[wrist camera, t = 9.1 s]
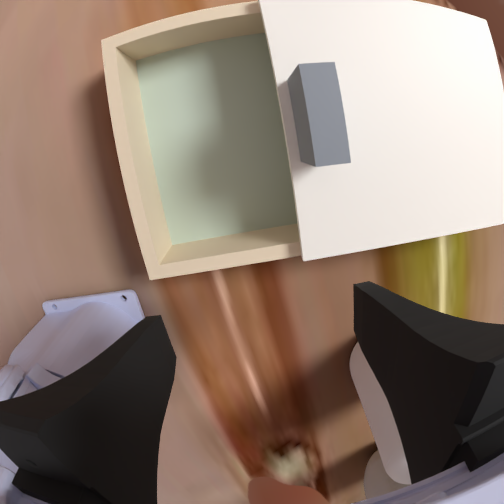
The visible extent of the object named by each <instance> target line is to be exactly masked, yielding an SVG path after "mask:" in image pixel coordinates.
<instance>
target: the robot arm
mask: <svg viewBox="0 0 504 504" xmlns="http://www.w3.org/2000/svg"><path fill="white" fill-rule="evenodd" d="M353 285H354V332H355V334H356V337H357V340H358V343H359V345H360V348H361V351H362V353H363V354H364V356H365V358H366V360H367V362H368V364H369V366H370V368H371V369H372V371H373V373H374V375H375V377H376V379H377V381H378V383H379V384H380V386H381V388H382V390H383V392H384V394H385V396H386V398H387V401H388V403H389V406H390V409H391V411H392V414H393V417H394V420H395V423H396V426H397V429H398V432H399V436H400V439H401V442H402V446H403V449H404V453H405V457H406V461H407V465H408V470H409V474H410V479H411V484H412V485H409V486H407V487H404V488H401V489H398V490H395V491H392V492H389V493H386V494H383V495H380V496H377V497H373V498H370V499H366V500H363V501H359V502H355V503H351V504H504V325H503V324H492V323H484V322H477V321H472V320H467V319H462V318H458V317H454V316H451V315H448V314H444V313H441V312H438V311H435V310H432V309H429V308H427V307H424V306H422V305H420V304H417V303H415V302H412V301H410V300H408V299H406V298H404V297H402V296H399V295H397V294H395V293H393V292H391V291H389V290H387V289H385V288H383V287H381V286H379V285H377V284H374V283H372V282H369V281H368V282H363V283H358V284H353ZM122 295H124V296H126V298H127V299H124V298H123V297H122ZM54 304H55V305H56V306H57V307H56V306H55V305H54ZM42 306H43V309H44V311H45V314H46V315H45V316H44V317H43V318H42V319H41V320H40V321H39V322H38V323H37V324H36V325H35V326H34V327H33V329H32V330H31V331H30V332H29V333H28V334H27V335H26V336H25V337H24V339H23V340H22V341H21V342H20V343H19V344H18V345H17V346H16V348H15V349H14V350H13V352H12V353H11V355H10V358H9V361H8V365H5V366H4V367H3V368H2V369H1V370H0V504H157V467H158V452H159V443H160V434H161V429H162V424H163V420H164V416H165V412H166V408H167V404H168V401H169V397H170V393H171V389H172V385H173V381H174V375H175V366H176V355H175V352H174V350H173V347H172V345H171V342H170V339H169V337H168V334H167V331H166V328H165V326H164V323H163V320H162V317H161V315H158V316H150V317H145V316H144V313H143V311H142V308H141V305H140V302H139V300H138V297H137V294H136V292H135V291H133V290H130V289H128V290H121V291H114V292H107V293H100V294H93V295H86V296H79V297H71V298H64V299H56V300H49V301H45V302H44V303H43V305H42Z"/></svg>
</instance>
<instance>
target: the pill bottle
mask: <svg viewBox="0 0 504 504" xmlns="http://www.w3.org/2000/svg"><path fill="white" fill-rule="evenodd" d="M349 366H350V372H351V377H352V379H353V382H354V385H355V387H356V390H357V393H358V395H359V398H360V401H361V403H362V406H363V409H364V411H365V414H366V417H367V420H368V422H369V425H370V428H371V431H372V434H373V436H374V439H375V442H376V445H377V448H378V451H379V454H380V457H381V460H382V463H383V465H384V468H385V471H386V473H387V474H388V475H389V476H390V478H391V479H393V480H394V481H395V482H398V483H401V484H411V479H410V474H409V470H408V465H407V461H406V457H405V453H404V449H403V446H402V442H401V439H400V436H399V432H398V429H397V426H396V423H395V420H394V417H393V414H392V411H391V409H390V406H389V403H388V401H387V398H386V396H385V394H384V392H383V390H382V388H381V386H380V384H379V383H378V381H377V379H376V377H375V375H374V373H373V371H372V369H371V368H370V366H369V364H368V362H367V360H366V358H365V356H364V354H363V353H362V351H361V348H360V345H359V343H358V342H357V343H356V345H355V347H354V348H353V351H352V353H351V357H350V363H349Z"/></svg>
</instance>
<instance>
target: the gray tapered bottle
mask: <svg viewBox="0 0 504 504" xmlns="http://www.w3.org/2000/svg"><path fill="white" fill-rule="evenodd" d="M409 485H412V484H401V483H398V482H395V481H394V480H393V479H391V478H390V476H389V475H388V474H387V473H386V471H385V468H384V465H383V463H382V460H381V457H380V454H379V451H378V450H377V451H376V452H374V454H373V455H372V456H371V458H370V459H369V461H368V463H367V466H366V470H365V475H364V491H365V495H366V499H370V498H373V497H377V496H380V495H383V494H386V493H389V492H392V491H395V490H398V489H401V488H404V487H407V486H409Z"/></svg>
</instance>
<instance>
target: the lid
mask: <svg viewBox="0 0 504 504" xmlns="http://www.w3.org/2000/svg"><path fill="white" fill-rule="evenodd" d="M258 3H259V7H260V12H261V16H262V21H263V25H264V30H265V34H266V39H267V44H268V49H269V54H270V59H271V64H272V69H273V74H274V79H275V84H276V90H277V95H278V100H279V106H280V112H281V117H282V123H283V129H284V135H285V141H286V147H287V154H288V160H289V167H290V173H291V180H292V187H293V194H294V201H295V208H296V216H297V223H298V231H299V239H300V247H301V256H302V259H303V261H308V260H314V259H320V258H325V257H331V256H337V255H342V254H348V253H354V252H359V251H365V250H370V249H376V248H381V247H387V246H392V245H397V244H403V243H408V242H413V241H419V240H424V239H429V238H434V237H440V236H445V235H450V234H455V233H460V232H465V231H470V230H475V229H480V228H485V227H490V226H495V225H500V224H504V91H503V85H502V80H501V75H500V70H499V65H498V61H497V57H496V52H495V49H494V45H493V41H492V37H491V34H490V31H489V27H488V24H487V21H486V20H485V19H482V18H479V17H476V16H472V15H469V14H466V13H463V12H459V11H456V10H452V9H448V8H445V7H441V6H436V5H432V4H428V3H423V2H418V1H413V0H258Z"/></svg>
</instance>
